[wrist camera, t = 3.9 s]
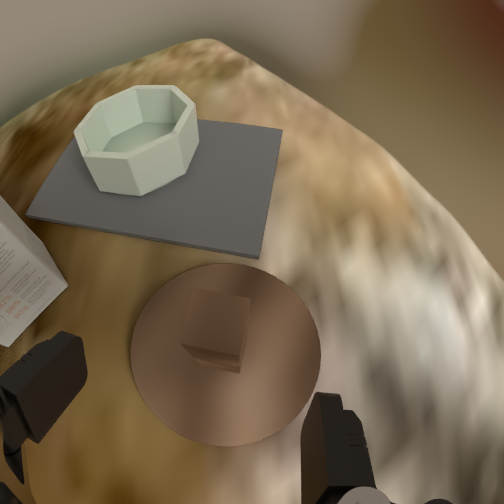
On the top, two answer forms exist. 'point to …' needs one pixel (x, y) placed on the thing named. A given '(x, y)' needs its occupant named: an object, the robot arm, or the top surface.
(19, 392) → the robot arm
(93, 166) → the bowl
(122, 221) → the mat
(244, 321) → the lid
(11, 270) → the small box
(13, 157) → the top surface
